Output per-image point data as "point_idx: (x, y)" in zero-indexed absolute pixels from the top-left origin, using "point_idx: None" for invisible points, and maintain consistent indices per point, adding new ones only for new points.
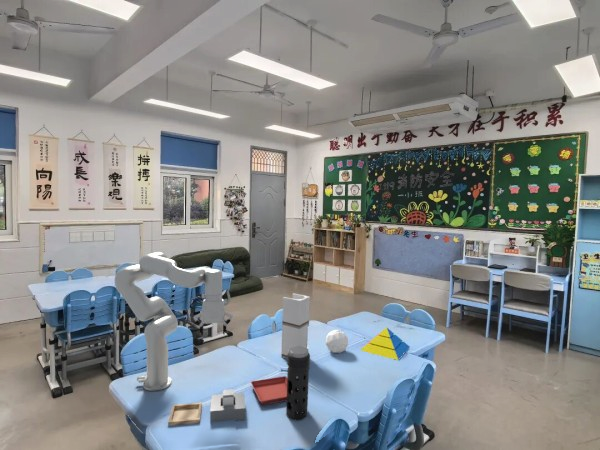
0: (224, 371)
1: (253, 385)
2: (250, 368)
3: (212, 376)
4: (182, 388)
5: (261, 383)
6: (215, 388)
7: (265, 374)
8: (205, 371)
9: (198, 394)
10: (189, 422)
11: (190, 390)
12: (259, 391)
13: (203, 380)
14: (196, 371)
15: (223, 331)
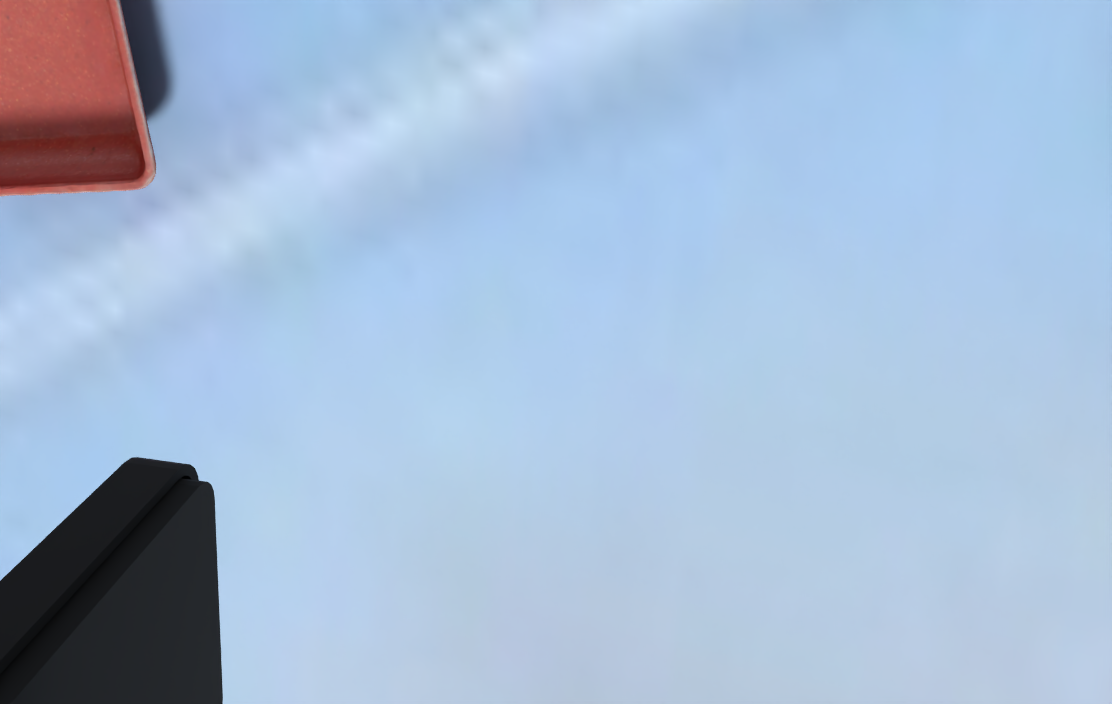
0: (484, 597)
1: (140, 149)
2: None
3: (633, 528)
4: (1029, 356)
5: (36, 163)
6: (623, 249)
7: (10, 407)
8: (704, 655)
9: (851, 160)
10: None
11: (937, 283)
12: (73, 6)
13: (749, 469)
14: (807, 682)
15: (118, 552)
